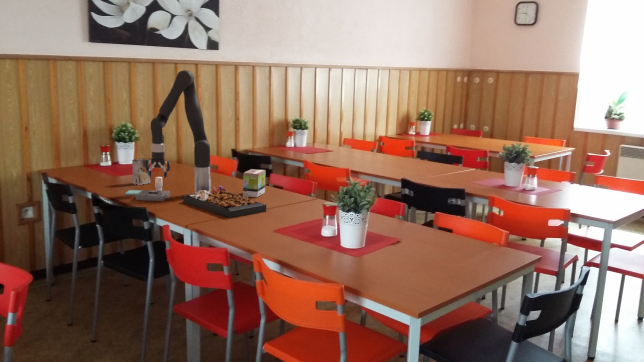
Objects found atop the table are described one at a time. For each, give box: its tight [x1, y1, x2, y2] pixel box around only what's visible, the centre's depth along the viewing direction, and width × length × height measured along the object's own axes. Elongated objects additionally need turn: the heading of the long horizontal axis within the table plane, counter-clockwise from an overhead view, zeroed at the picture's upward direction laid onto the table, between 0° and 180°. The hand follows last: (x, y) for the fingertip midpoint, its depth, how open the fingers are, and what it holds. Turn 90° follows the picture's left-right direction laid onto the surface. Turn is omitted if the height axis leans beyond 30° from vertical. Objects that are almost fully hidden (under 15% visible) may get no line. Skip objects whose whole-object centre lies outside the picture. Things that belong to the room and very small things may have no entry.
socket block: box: [135, 189, 171, 202], centre depth 335 cm, size 16×14×3 cm
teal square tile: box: [124, 189, 143, 196], centre depth 345 cm, size 9×9×1 cm
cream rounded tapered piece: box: [154, 176, 163, 191], centre depth 346 cm, size 4×4×10 cm
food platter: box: [182, 182, 267, 219], centre depth 320 cm, size 45×25×10 cm, turn 45°
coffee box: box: [131, 158, 151, 186], centre depth 372 cm, size 9×6×16 cm
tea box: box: [242, 168, 267, 198], centre depth 353 cm, size 15×10×15 cm, turn 168°
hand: (158, 177), depth 345 cm, fingers open, 8 cm apart
